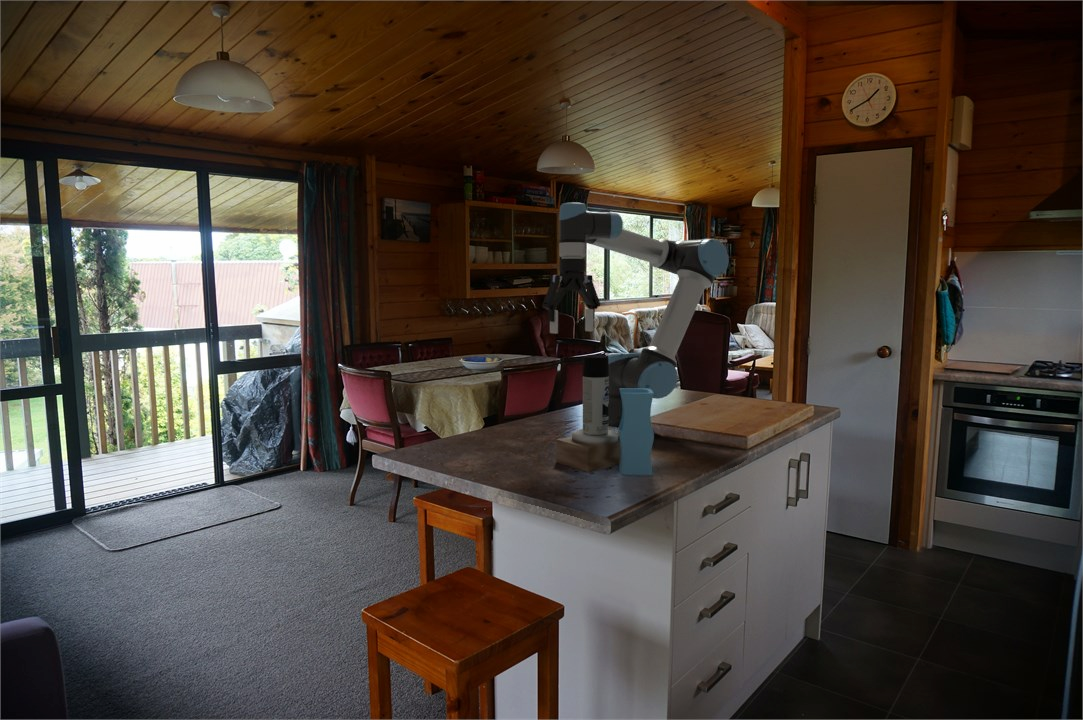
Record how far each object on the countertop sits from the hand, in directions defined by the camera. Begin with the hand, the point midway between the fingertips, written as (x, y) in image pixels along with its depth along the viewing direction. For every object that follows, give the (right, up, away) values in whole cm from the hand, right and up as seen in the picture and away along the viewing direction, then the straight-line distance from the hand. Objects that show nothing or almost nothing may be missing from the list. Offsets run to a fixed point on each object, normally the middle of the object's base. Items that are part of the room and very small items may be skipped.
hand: (571, 332), depth 204 cm
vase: (+14, -36, -30) cm, 49 cm away
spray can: (+5, -27, -22) cm, 36 cm away
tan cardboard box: (+5, -34, -22) cm, 41 cm away
